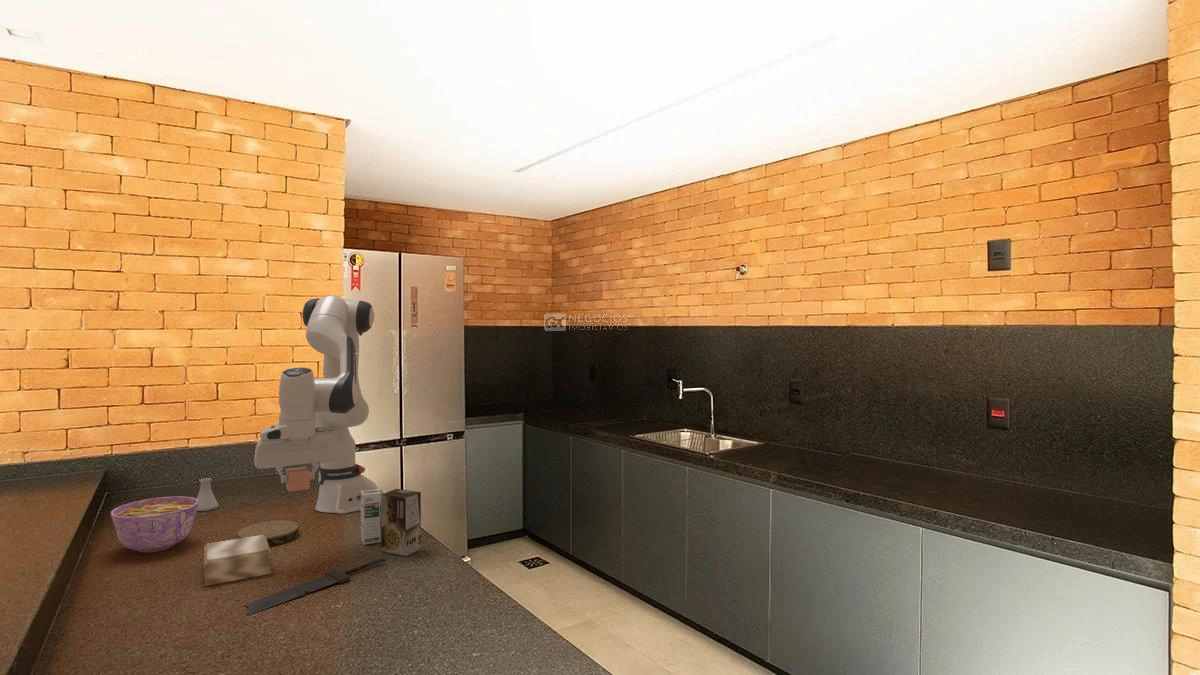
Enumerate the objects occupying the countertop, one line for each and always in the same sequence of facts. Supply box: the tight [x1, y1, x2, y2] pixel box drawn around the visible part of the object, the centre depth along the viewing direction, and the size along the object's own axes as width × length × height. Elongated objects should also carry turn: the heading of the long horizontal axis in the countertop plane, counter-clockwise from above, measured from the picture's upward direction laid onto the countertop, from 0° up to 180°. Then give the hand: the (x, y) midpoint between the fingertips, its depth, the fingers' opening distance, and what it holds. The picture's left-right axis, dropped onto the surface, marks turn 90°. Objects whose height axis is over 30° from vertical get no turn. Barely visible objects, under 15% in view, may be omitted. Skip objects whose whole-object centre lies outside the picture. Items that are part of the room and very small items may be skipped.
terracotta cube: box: [285, 466, 311, 493], centre depth 164 cm, size 5×5×5 cm
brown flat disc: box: [236, 519, 300, 548], centre depth 180 cm, size 16×16×3 cm
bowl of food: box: [110, 495, 199, 554], centre depth 172 cm, size 20×20×12 cm
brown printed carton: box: [381, 488, 422, 557], centre depth 172 cm, size 9×6×16 cm
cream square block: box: [203, 535, 272, 587], centre depth 157 cm, size 14×14×6 cm
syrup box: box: [360, 488, 384, 546], centre depth 179 cm, size 6×6×14 cm
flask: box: [196, 477, 220, 512], centre depth 208 cm, size 7×7×10 cm
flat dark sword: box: [243, 557, 386, 616], centre depth 148 cm, size 7×35×2 cm, turn 142°
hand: (297, 481), depth 164 cm, fingers closed on terracotta cube, 5 cm apart
